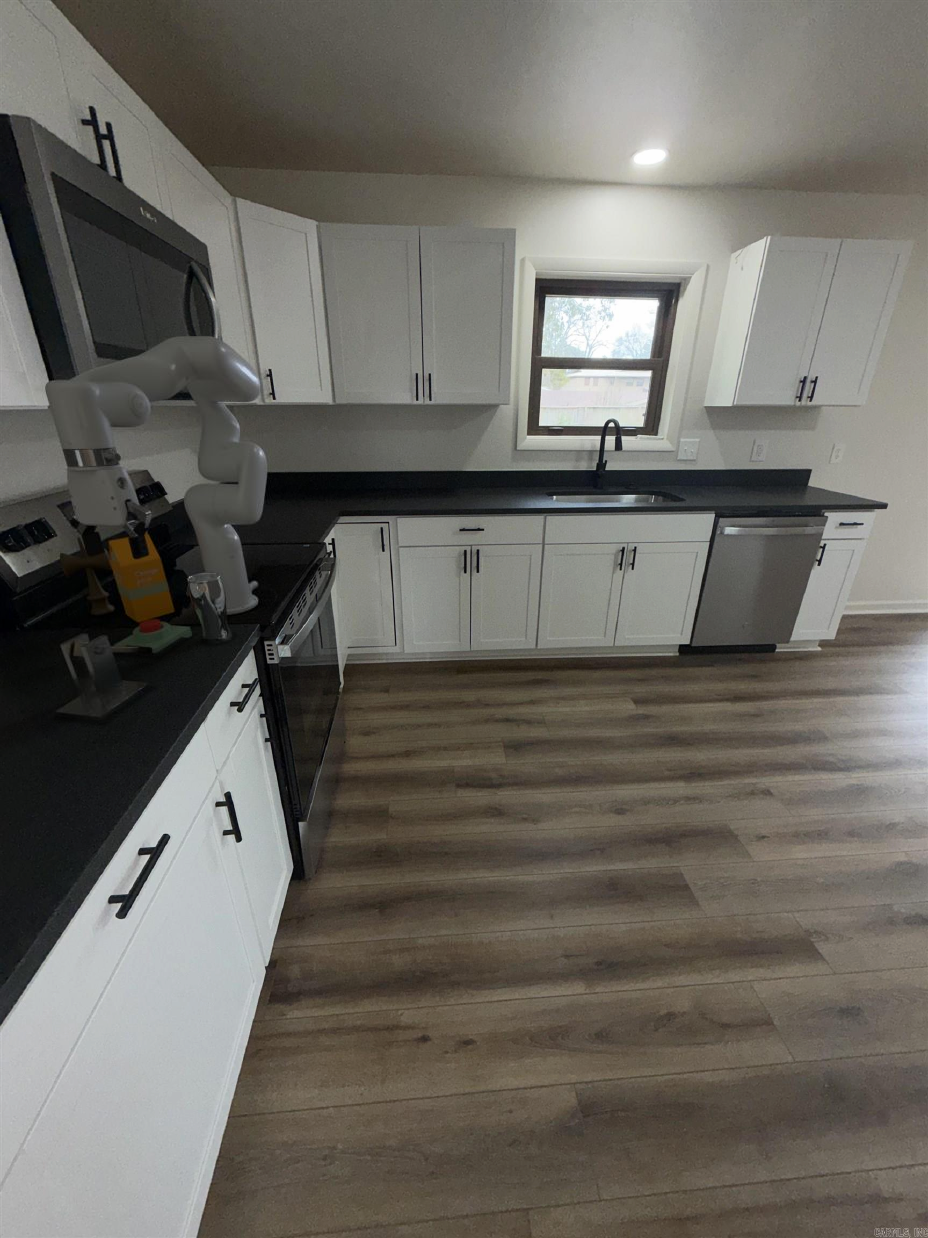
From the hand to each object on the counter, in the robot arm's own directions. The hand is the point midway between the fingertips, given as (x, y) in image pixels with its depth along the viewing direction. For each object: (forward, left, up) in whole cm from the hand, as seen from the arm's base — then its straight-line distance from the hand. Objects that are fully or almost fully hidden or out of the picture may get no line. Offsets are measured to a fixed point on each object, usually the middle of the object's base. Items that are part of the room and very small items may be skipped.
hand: (118, 555), depth 92 cm
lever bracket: (+13, +1, -24) cm, 27 cm away
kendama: (-22, -33, -24) cm, 46 cm away
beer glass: (-14, +5, -24) cm, 28 cm away
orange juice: (-24, -21, -24) cm, 40 cm away
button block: (-9, -7, -24) cm, 26 cm away
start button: (-9, -7, -20) cm, 23 cm away
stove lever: (+9, +1, -16) cm, 19 cm away
